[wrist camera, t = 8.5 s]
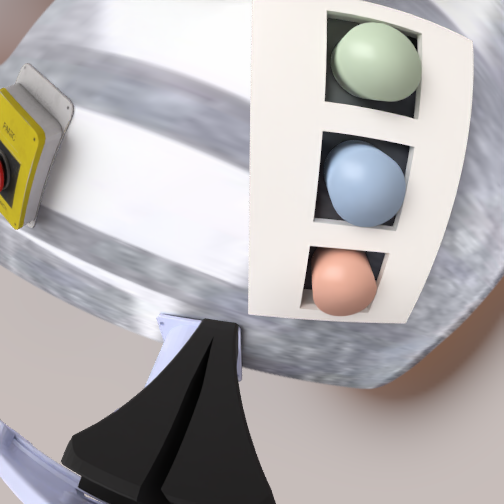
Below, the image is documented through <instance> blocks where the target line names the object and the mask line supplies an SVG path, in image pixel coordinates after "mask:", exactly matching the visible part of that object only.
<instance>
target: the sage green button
mask: <svg viewBox="0 0 504 504" xmlns="http://www.w3.org/2000/svg"><path fill="white" fill-rule="evenodd" d="M331 69H332V72H333V75H334V77H335V79H336V80H337V82H338V83H339V84H340V86H341V87H342V88H343V89H345V90H346V91H347V92H349V93H350V94H352V95H354V96H356V97H359V98H362V99H369V100H379V101H391V102H392V101H399V100H402V99H404V98H406V97H408V96H410V95H411V94H412V93H413V92H414V91H415V90H416V88H417V86H418V85H419V82H420V79H421V73H422V68H421V61H420V58H419V55H418V53H417V51H416V49H415V47H414V46H413V44H412V43H411V41H410V40H409V39H408V38H407V37H406V36H405V35H404V34H402V33H401V32H400V31H398V30H397V29H395V28H393V27H391V26H389V25H386V24H382V23H375V22H370V23H363V24H360V25H357V26H356V27H354V28H352V29H351V30H350V31H349V32H348V33H347V34H346V35H345V36H344V37H343V38H342V39H341V40H340V41H339V42H338V43H337V45H336V46H335V47H334V49H333V51H332V54H331Z"/></svg>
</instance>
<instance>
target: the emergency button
mask: <svg viewBox="0 0 504 504" xmlns="http://www.w3.org/2000/svg"><path fill="white" fill-rule="evenodd" d="M73 112H74V110H73V104H72V102H71V100H70V99H69V98H67V97H66V96H65V95H64V94H63V93H62V92H61V91H60V90H59V89H57V88H56V87H55V86H54V85H53V84H52V83H51V82H50V81H49V80H47V79H46V78H45V77H44V76H43V75H42V74H41V73H40V72H39V71H38V70H36V69H35V68H34V67H33V66H32V65H31V64H29V63H26V64H25V65H23V67H22V68H21V70H20V72H19V75H18V77H17V80H16V83H15V84H14V85H11V86H8V87H6V88H2V89H0V212H1V214H2V215H3V216H4V217H5V219H6V220H7V221H8V222H9V224H10V225H11V226H12V227H13V228H14V229H15V230H18V229H20V228H21V227H23V226H24V225H27V226H28V227H30V228H32V227H34V225H35V222H36V218H37V214H38V210H39V206H40V203H41V199H42V196H43V192H44V189H45V186H46V182H47V179H48V176H49V173H50V170H51V167H52V165H53V162H54V159H55V156H56V154H57V151H58V149H59V146H60V144H61V141H62V139H63V137H64V134H65V132H66V130H67V127H68V125H69V123H70V121H71V119H72V115H73Z"/></svg>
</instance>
